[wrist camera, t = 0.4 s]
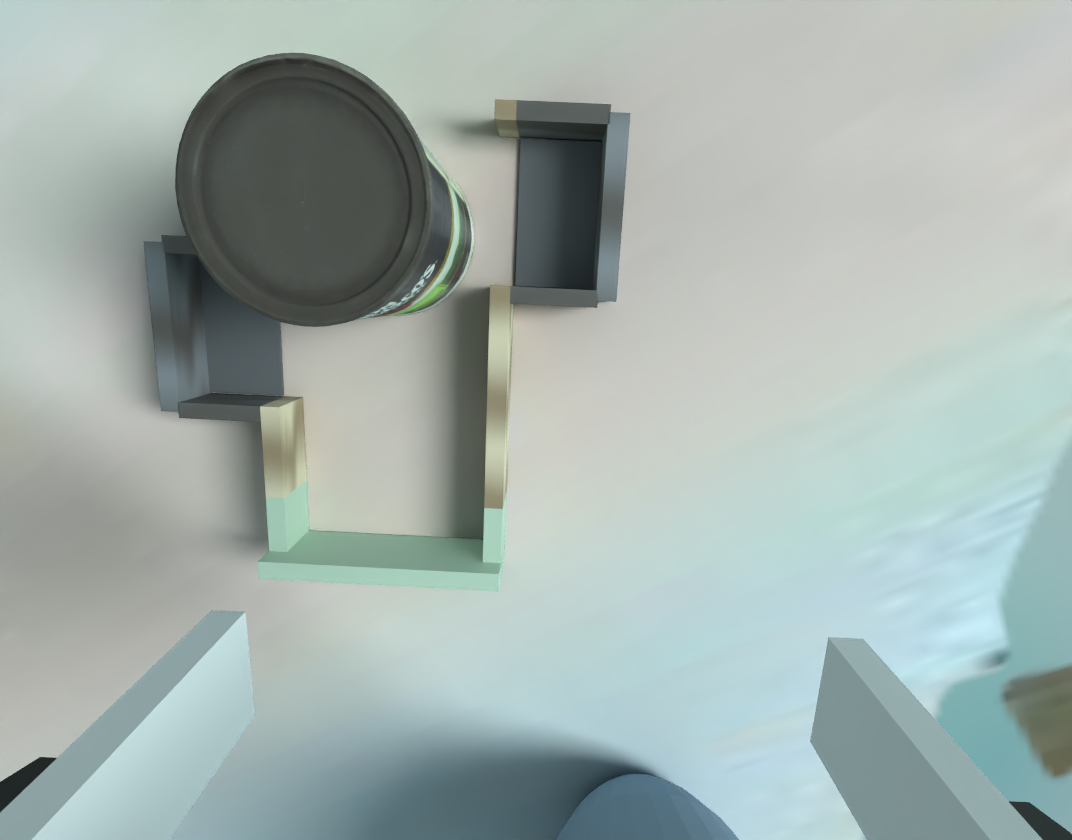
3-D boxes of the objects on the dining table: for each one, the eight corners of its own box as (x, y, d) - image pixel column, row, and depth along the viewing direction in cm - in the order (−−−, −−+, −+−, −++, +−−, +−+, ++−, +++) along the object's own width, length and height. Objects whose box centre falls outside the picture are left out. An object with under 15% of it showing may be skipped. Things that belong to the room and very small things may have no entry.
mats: (189, 125, 35) (187, 123, 35) (601, 142, 35) (602, 141, 34) (211, 391, 39) (209, 391, 38) (584, 409, 38) (584, 410, 38)
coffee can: (499, 282, 37) (469, 275, 23) (355, 337, 38) (244, 361, 24) (439, 121, 35) (367, 5, 21) (289, 183, 36) (125, 112, 22)
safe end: (289, 479, 40) (253, 505, 35) (506, 490, 40) (500, 518, 35) (293, 545, 41) (258, 578, 36) (504, 555, 41) (498, 591, 36)
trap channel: (168, 104, 35) (127, 83, 31) (622, 123, 34) (630, 105, 31) (201, 475, 40) (169, 492, 36) (595, 495, 40) (600, 514, 36)
